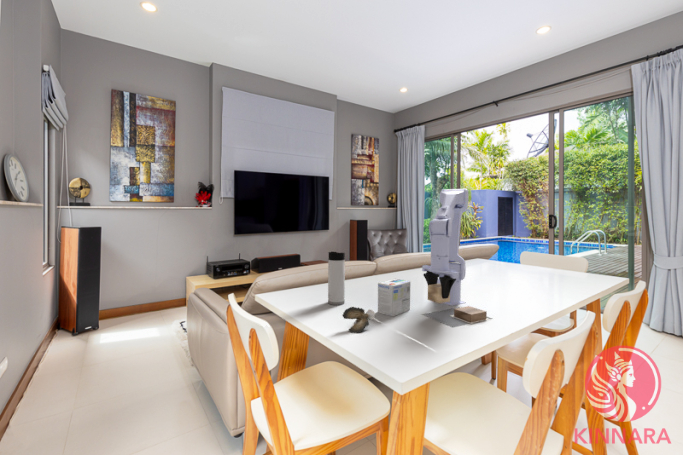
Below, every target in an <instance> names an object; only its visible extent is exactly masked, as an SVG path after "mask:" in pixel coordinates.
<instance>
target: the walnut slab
mask: <svg viewBox="0 0 683 455" xmlns="http://www.w3.org/2000/svg"><path fill="white" fill-rule="evenodd" d="M455 308H456V309H454V316H455V317H458V318H460V319H463V320H466V321H469V322H476V321H480V320H485V319H486V318H487V317H488V316H487V311H486V310H483V309H480V308H477V307H473V306H470V305H467V306H461V307H460V308H458V307H455ZM485 321H486V320H485ZM480 322H481V321H480ZM476 323H477V322H476Z"/></svg>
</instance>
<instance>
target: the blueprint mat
mask: <svg viewBox="0 0 683 455" xmlns="http://www.w3.org/2000/svg"><path fill="white" fill-rule="evenodd" d="M456 308H461V307H459V306H458V307H454V308H448V309H442V310H436V311H433V312H426V313H420V315H422V316H424V317H427V318H429V319H431V320H434V321H436V322H439V323H441V324H443V325H445V326H449V327H450V328H456V327H461V326H465V325H473V324H475V323H480V322H484V321H491V320H493V318H492V317H489V316H487V318H486V319H485V320H480V321H476V322H469V321H466V320H463V319H460V318H458V317H455V316H454V309H456Z"/></svg>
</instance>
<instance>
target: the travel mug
mask: <svg viewBox="0 0 683 455" xmlns="http://www.w3.org/2000/svg"><path fill="white" fill-rule="evenodd" d="M345 255H346V253H345V252H337V251H328V263H327V264H328V266H327V267H328V268H327V270H328V271H327V272H328V273H327V274H328V275H327V276H328V278H327V279H328V280H327V281H328V282H327V290H328V291H327V292H328V293H327V303H328V304H329V305H332V306H342V305H344V304H345V292H346V291H345V289H346V287H345V286H346V284H345V280H346V279H345V276H346V272H345V271H346V270H345V268H346V267H345V266H346V263H345V262H346V260H345V257H346V256H345Z"/></svg>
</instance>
